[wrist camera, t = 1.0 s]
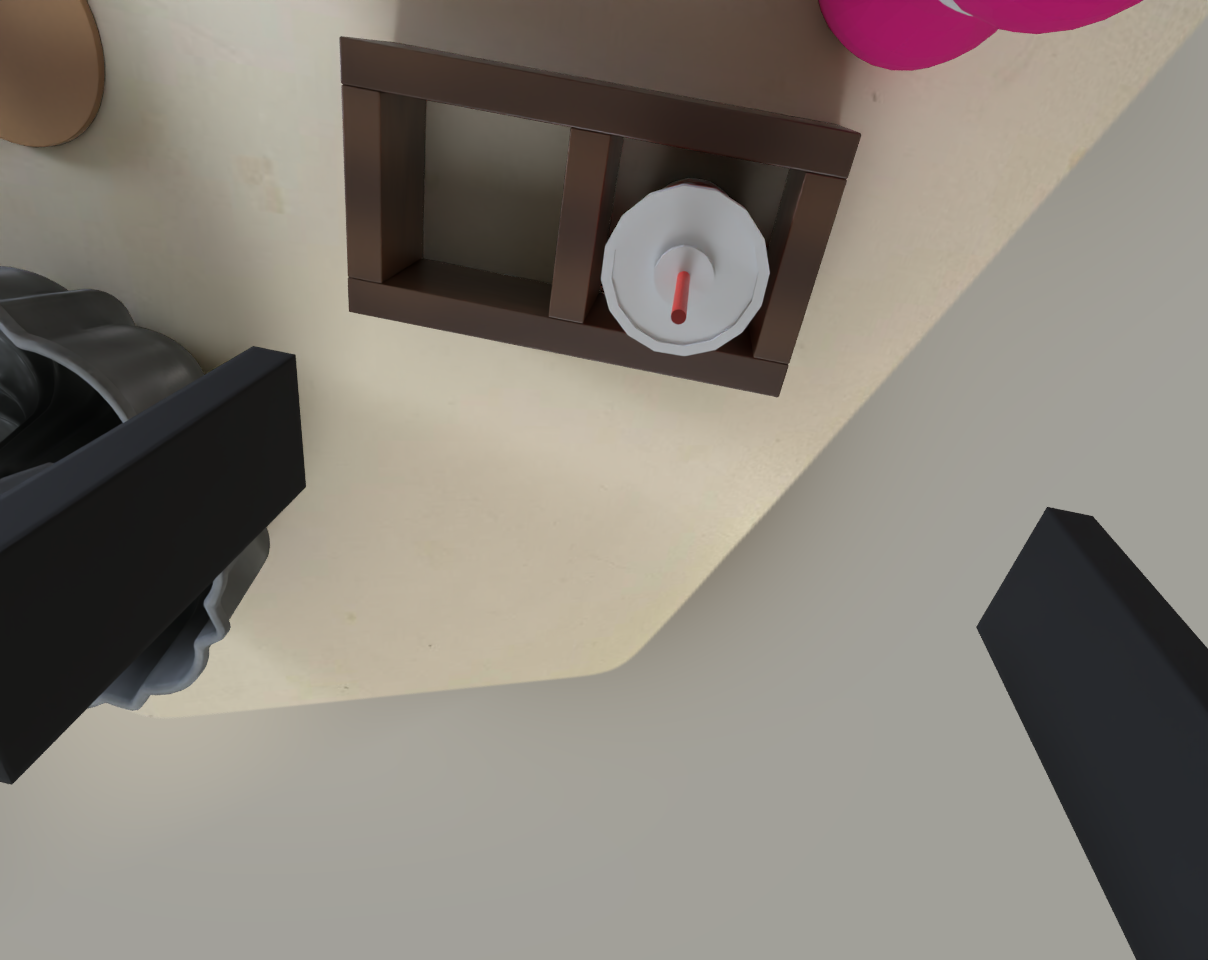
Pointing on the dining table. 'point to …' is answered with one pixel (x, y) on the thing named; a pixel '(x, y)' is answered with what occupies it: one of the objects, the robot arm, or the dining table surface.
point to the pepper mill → (949, 25)
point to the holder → (569, 207)
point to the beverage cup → (685, 269)
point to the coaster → (48, 71)
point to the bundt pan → (87, 411)
